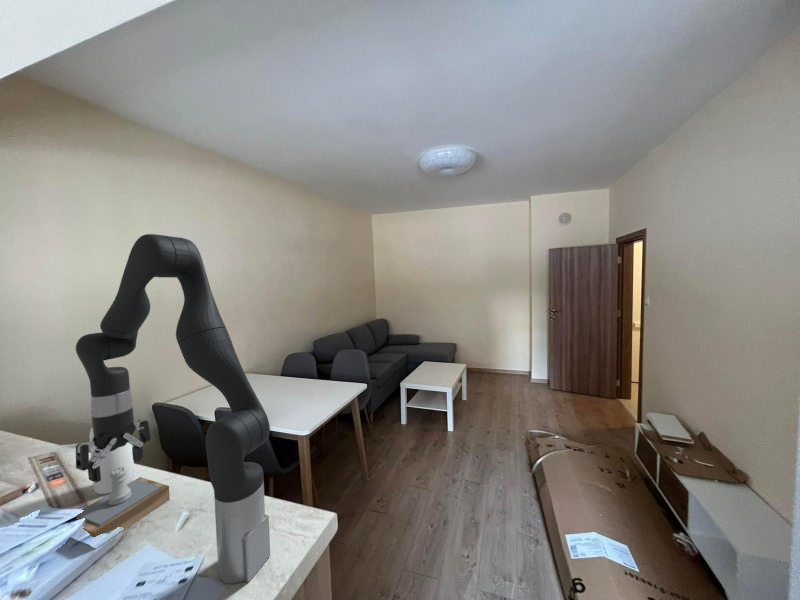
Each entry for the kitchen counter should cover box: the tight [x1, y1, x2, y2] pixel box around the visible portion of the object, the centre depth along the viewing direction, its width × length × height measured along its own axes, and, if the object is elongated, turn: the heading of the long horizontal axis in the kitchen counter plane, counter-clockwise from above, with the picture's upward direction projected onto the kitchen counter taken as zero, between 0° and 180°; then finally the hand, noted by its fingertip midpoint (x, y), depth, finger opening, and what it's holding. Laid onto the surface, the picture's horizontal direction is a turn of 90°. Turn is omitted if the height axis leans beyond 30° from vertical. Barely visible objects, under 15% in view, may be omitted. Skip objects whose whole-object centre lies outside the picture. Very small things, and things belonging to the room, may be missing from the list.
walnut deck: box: [76, 477, 171, 537], centre depth 76 cm, size 12×16×4 cm
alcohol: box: [88, 426, 136, 495], centre depth 87 cm, size 9×9×30 cm
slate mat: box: [77, 478, 161, 526], centre depth 76 cm, size 10×13×1 cm
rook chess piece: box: [108, 467, 132, 505], centre depth 76 cm, size 4×4×8 cm
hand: (118, 470), depth 76 cm, fingers open, 8 cm apart
